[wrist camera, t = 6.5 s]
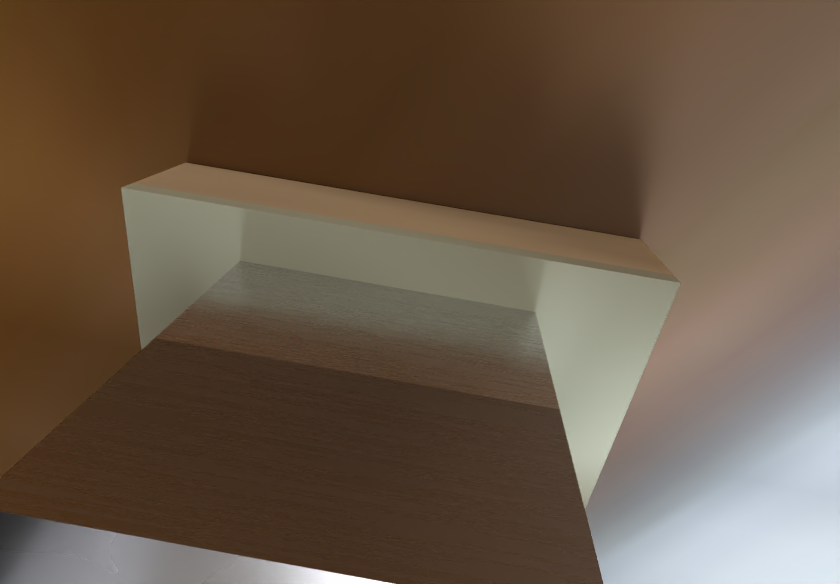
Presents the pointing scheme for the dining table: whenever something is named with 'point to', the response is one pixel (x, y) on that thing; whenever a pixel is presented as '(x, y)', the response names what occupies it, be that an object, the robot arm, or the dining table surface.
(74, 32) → the dining table surface
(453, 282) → the stand
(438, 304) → the block
